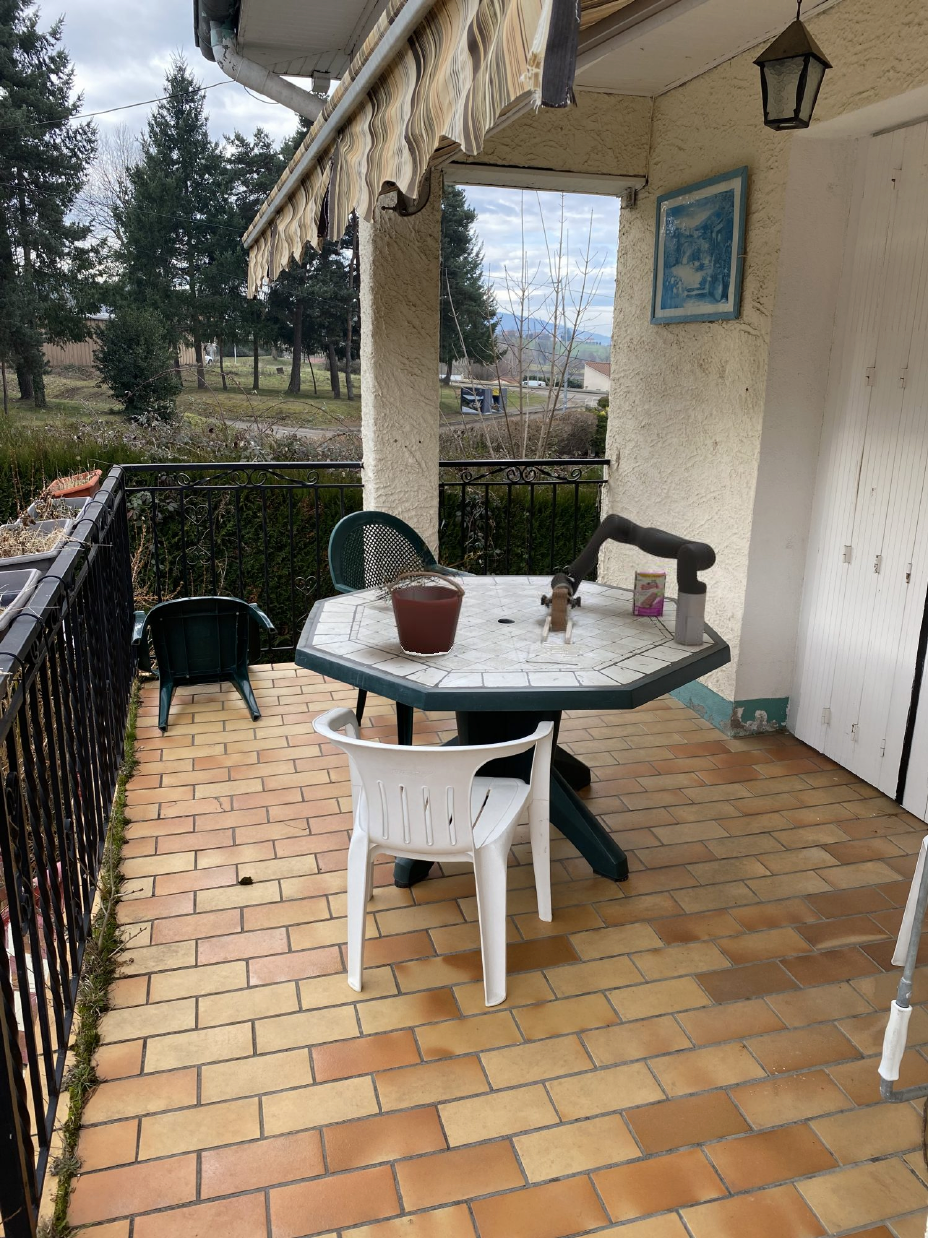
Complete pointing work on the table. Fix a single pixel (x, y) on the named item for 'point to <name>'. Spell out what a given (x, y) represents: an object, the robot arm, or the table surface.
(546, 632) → the chute
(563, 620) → the walnut block
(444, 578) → the bucket
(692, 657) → the table surface
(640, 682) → the table surface
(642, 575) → the candy bar box
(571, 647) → the mat
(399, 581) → the dried plant
